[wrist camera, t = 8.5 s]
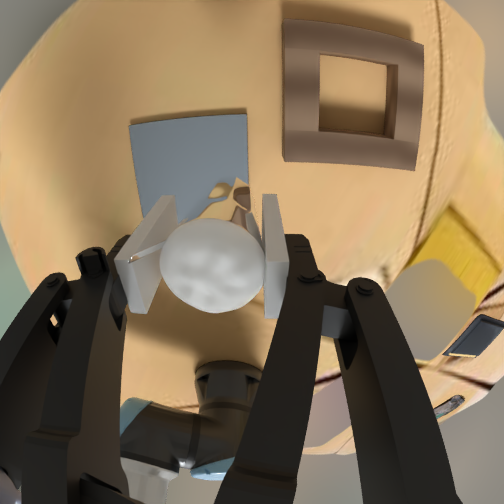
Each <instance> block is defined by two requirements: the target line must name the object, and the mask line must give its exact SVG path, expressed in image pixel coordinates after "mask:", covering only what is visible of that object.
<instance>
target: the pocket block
mask: <svg viewBox="0 0 504 504" xmlns="http://www.w3.org/2000/svg"><path fill="white" fill-rule="evenodd" d="M320 55H329V56H337V57H344V58H351V59H357V60H362V61H368V62H373V63H378V64H383V65H387V92H386V111H385V125H384V135H383V134H375V133H367V132H359V131H349V130H338V129H325V128H319V92H320ZM282 68H283V136H282V156H283V159H284V161H285V162H311V163H333V164H349V165H362V166H374V167H384V168H393V169H402V170H410V171H415V166H416V160H417V153H418V146H419V138H420V129H421V118H422V105H423V87H424V45H422V44H419V43H416V42H413V41H410V40H407V39H403V38H400V37H396V36H393V35H389V34H385V33H381V32H377V31H373V30H368V29H363V28H358V27H353V26H348V25H342V24H335V23H328V22H320V21H310V20H299V19H284V20H283V23H282Z"/></svg>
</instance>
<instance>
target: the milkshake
mask: <svg viewBox="0 0 504 504" xmlns="http://www.w3.org/2000/svg"><path fill="white" fill-rule="evenodd" d="M161 248H162V250H161V254H160V270H161V274H162V276H163V278H164V280H165V282H166V284H167V286H168V287H169V289H170V290H171V291H172V292H173V293H174V294H175V295H176V296H177V297H178V298H179V299H181V300H182V301H184V302H185V303H187V304H189V305H191V306H193V307H195V308H197V309H199V310H201V311H205V312H209V313H221V312H227V311H232V310H235V309H238V308H240V307H242V306H244V305H245V304H247V303H248V302H249V301H251V300H252V299H253V298H254V297H255V296H256V295H257V293H258V292H259V291H260V289H261V288H262V286H263V284H264V276H265V254H264V249H263V245H262V240H261V236H260V231H259V225H258V218H257V211H256V205H255V199H254V197H253V194H252V191H251V189H250V186H249V185H248V184H246V183H245V182H243V181H242V180H240V179H239V178H237V177H221V178H219V179H218V180H217V181H215V182H214V183H213V184H211V185H210V186H209V187H208V188H207V189H206V190H205V192H204V193H203V194H202V196H201V197H200V198H199V199H198V201H197V202H196V203H195V205H194V206H193V207H192V209H191V210H190V211H189V213H188V214H187V215H186V216H185V217H184V219H183V220H182V221H181V222H180V223H179V224H178V226H177V227H176V228H175V229H174V230H173V232H172V233H171V234H170V235H169V237H168V238H167V239H166V240H164V241H162V242H160V243H157V244H155V245H153V246H151V247H148V248H146V249H144V250H142V251H139V252H137V253H135V254H133V255H132V256H131V258H130V260H129V262H128V263H129V264H130V263H132V262H134V261H136V260H138V259H140V258H142V257H144V256H147V255H149V254H151V253H153V252H155V251H157V250H159V249H161Z"/></svg>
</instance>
